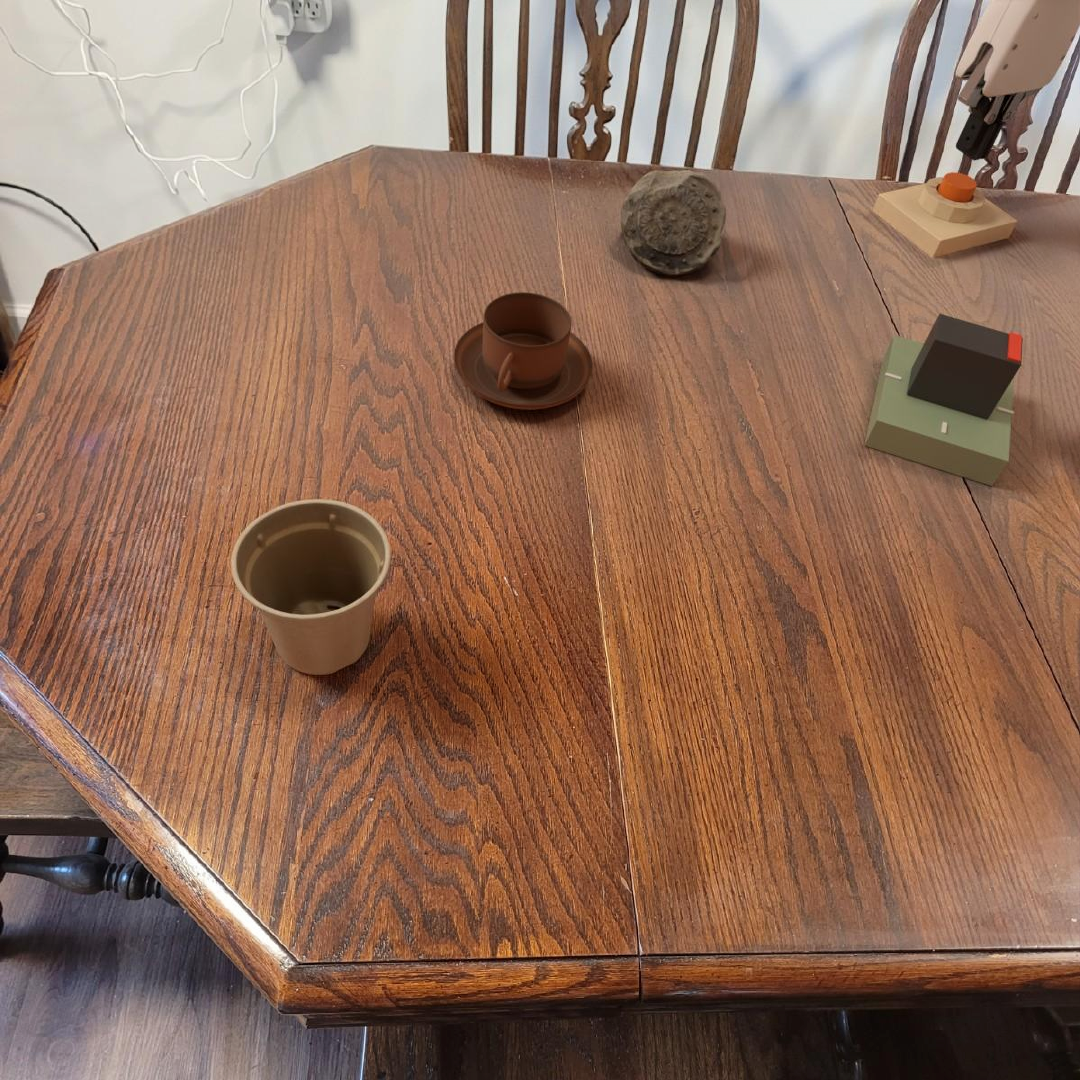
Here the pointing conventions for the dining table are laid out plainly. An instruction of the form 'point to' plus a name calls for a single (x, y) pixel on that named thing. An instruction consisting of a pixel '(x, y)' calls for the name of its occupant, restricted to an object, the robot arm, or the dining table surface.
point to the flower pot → (313, 580)
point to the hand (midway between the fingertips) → (970, 153)
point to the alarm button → (957, 187)
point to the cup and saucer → (523, 354)
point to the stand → (936, 424)
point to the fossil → (673, 221)
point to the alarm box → (943, 218)
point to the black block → (965, 366)
